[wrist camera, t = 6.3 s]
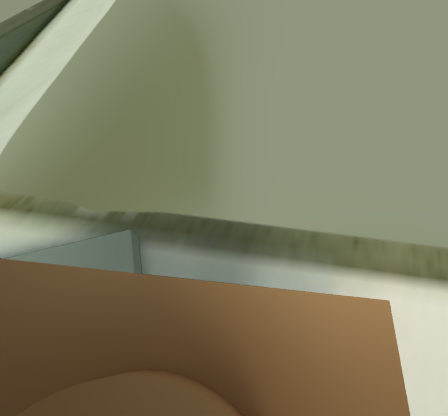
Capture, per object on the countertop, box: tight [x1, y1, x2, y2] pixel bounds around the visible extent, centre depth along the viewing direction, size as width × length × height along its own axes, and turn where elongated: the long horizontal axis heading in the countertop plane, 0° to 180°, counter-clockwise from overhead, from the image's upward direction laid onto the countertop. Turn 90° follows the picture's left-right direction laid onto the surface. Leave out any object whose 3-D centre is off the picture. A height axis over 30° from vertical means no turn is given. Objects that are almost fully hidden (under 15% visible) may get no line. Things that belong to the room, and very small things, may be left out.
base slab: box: [5, 229, 142, 274], centre depth 17 cm, size 20×14×3 cm
